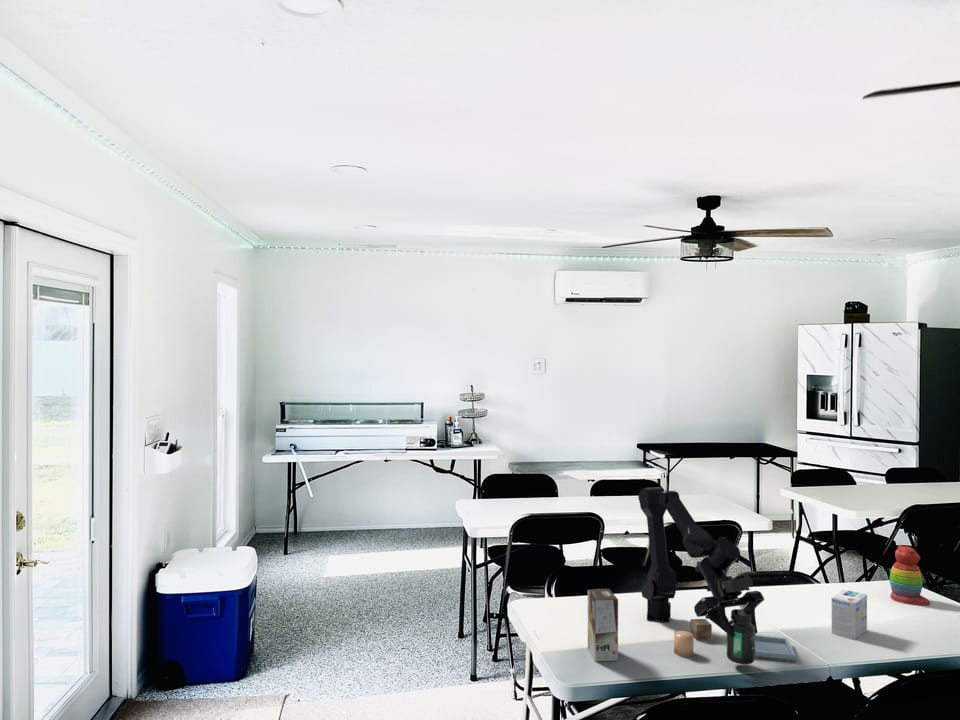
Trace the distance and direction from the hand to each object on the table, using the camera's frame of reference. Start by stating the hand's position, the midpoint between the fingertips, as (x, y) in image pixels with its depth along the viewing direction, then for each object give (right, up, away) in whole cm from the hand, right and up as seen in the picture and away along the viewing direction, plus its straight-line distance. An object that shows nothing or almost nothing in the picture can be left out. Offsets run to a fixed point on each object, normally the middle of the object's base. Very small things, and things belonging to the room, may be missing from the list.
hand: (744, 635), depth 175 cm
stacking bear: (+75, -10, +54) cm, 93 cm away
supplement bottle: (-1, -7, +1) cm, 7 cm away
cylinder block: (-13, -9, +10) cm, 18 cm away
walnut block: (-4, -9, +21) cm, 23 cm away
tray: (+11, -9, +12) cm, 18 cm away
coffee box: (-35, -9, +8) cm, 37 cm away
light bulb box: (+40, -10, +25) cm, 48 cm away
